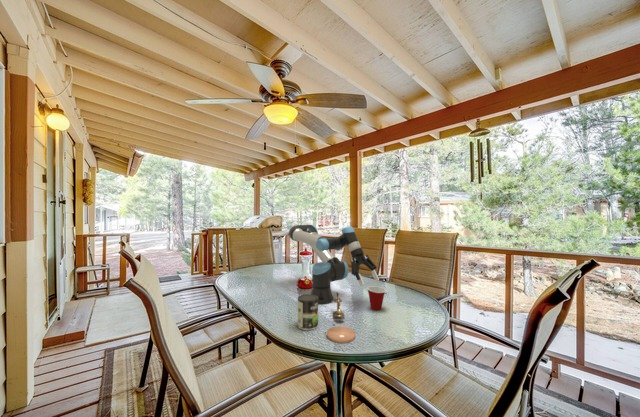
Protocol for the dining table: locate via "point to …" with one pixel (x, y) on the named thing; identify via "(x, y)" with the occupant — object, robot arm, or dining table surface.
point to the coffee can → (308, 312)
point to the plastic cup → (376, 297)
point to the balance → (338, 309)
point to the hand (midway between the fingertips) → (370, 282)
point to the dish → (340, 334)
